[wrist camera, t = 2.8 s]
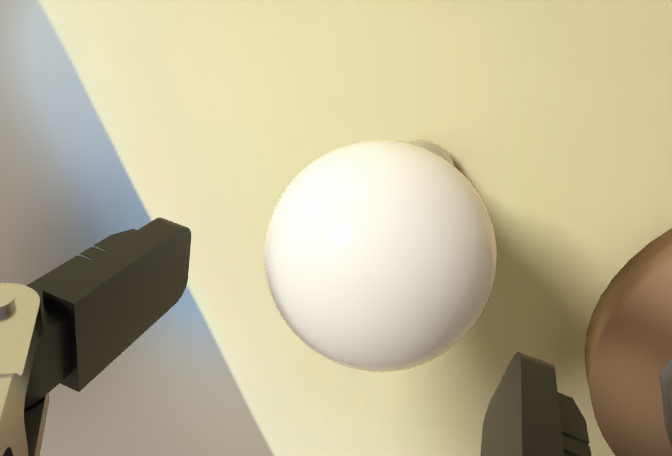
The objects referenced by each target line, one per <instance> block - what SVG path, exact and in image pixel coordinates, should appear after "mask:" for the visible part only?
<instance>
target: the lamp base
mask: <svg viewBox="0 0 672 456" xmlns="http://www.w3.org/2000/svg"><path fill="white" fill-rule="evenodd" d="M585 363H586V373H587V379H588V385H589V390H590V396H591V402H592V406H593V410H594V414H595V418H596V421H597V423H598V426H599V428H600V430H601V432H602V435H603V437H604V439H605V440H606V442H607V443H608V445H609V446H610V448H611V449H612V451H613V453H614V454H615V455H616V456H672V229H670V230H668V231H667V232H665V233H664V234H662V235H661V236H659V237H658V238H656V239H655V240H653V241H652V242H650V243H649V244H648V245H647V246H646V247H645V248H643V249H642V250H641V251H640V252H639V253H637V254H636V255H635V256H634V257H633V258H631V259H630V260H629V262H628V263H627V264H626V265H625V266H624V267H623V268H622V269H621V270H620V271H619V272H618V273H617V275H616V276H615V277H614V278H613V279H612V281H611V282H610V284H609V285H608V287H607V288H606V290H605V291H604V293H603V294H602V295H601V297H600V299H599V302H598V304H597V306H596V308H595V310H594V312H593V314H592V317H591V320H590V324H589V327H588V331H587V336H586V345H585Z"/></svg>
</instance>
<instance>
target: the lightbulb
mask: <svg viewBox="0 0 672 456" xmlns="http://www.w3.org/2000/svg"><path fill="white" fill-rule="evenodd" d="M496 261H497V250H496V240H495V234H494V229H493V225H492V222H491V219H490V216H489V214H488V211H487V209H486V207H485V205H484V203H483V201H482V199H481V197H480V196H479V194H478V192H477V191H476V189H475V188H474V187H473V185H472V184H471V183H470V182H469V180H468V179H467V178H466V177H465V176H464V175H463V174H462V173H461V172H460V171H459V170H458V169H457V168H455V167H454V163H453V161H452V159H451V157H450V155H449V154H448V153H447V152H446V151H445V150H444V149H443V148H442V147H441V146H439V145H437V144H435V143H433V142H430V141H424V140H418V141H412V142H409V143H405V142H400V141H393V140H367V141H360V142H355V143H351V144H347V145H344V146H341V147H338V148H336V149H334V150H331V151H329V152H327V153H325V154H323V155H322V156H320V157H318V158H317V159H315V160H314V161H312V162H311V163H310V164H308V165H307V166H306V167H305V168H303V169H302V170H301V171H300V172H299V173H298V174H297V175H296V176H295V177H294V178H293V180H292V181H291V182H290V183H289V184H288V186H287V187H286V189H285V190H284V191H283V193H282V195H281V196H280V198H279V200H278V202H277V204H276V206H275V208H274V210H273V212H272V215H271V218H270V221H269V224H268V228H267V232H266V238H265V247H264V265H265V274H266V279H267V283H268V287H269V290H270V293H271V296H272V299H273V301H274V303H275V306H276V308H277V310H278V311H279V313H280V315H281V317H282V318H283V320H284V321H285V323H286V324H287V325H288V327H289V328H290V329H291V330H292V331H293V333H294V334H295V335H296V336H297V337H298V338H299V339H300V340H301V341H302V342H303V343H305V344H306V345H307V346H308V347H309V348H311V349H312V350H313V351H315V352H316V353H318V354H320V355H321V356H323V357H325V358H327V359H329V360H331V361H333V362H335V363H337V364H340V365H343V366H346V367H349V368H353V369H357V370H363V371H371V372H391V371H399V370H405V369H409V368H413V367H416V366H419V365H422V364H424V363H427V362H429V361H431V360H433V359H435V358H437V357H439V356H441V355H442V354H444V353H445V352H447V351H448V350H450V349H451V348H452V347H453V346H455V345H456V344H457V343H458V342H459V341H460V340H461V339H462V338H463V337H464V336H465V335H466V334H467V333H468V332H469V331H470V329H471V328H472V327H473V326H474V324H475V323H476V321H477V320H478V318H479V317H480V315H481V313H482V312H483V310H484V308H485V306H486V304H487V301H488V299H489V296H490V293H491V290H492V287H493V283H494V278H495V272H496Z"/></svg>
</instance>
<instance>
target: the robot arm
mask: <svg viewBox="0 0 672 456" xmlns="http://www.w3.org/2000/svg"><path fill="white" fill-rule="evenodd" d="M190 245H191V232H190V229H189V228H187V227H185V226H182V225H179V224H177V223H174V222H171V221H169V220H166V219H163V218H157V219H155V220H153V221H152V222H150V223H148V224H147V225H145V226H144V227H142V228H140V229H139V230H135V229H131V230H128V231H124V232H120V233H117V234H113V235H110V236H109V237H107V238H105V239H104V240H102V241H101V242H99V243H97V244H95V245H94V247H93V248H92V247H90V248H89V249H87V250H85V251H84V252H82V253H81V254H80V256H75V257H74V258H72V259H71V260H69V261H67V262H65V263H64V264H62V265H60V266H59V267H57V268H55V269H54V270H52V271H50V272H49V273H47V274H45V275H44V276H42V277H40V278H39V279H37V280H35V281H34V282H32V283H30V284H29V285H27V286H24V285H21V284H15V283H0V456H40V451H41V445H42V439H43V434H44V428H45V423H46V417H47V411H48V405H49V392H50V391H51V390H52V389H53V388H54V387H56V386H57V385H58V384H59V383H61V384H63V385H65V386H67V387H69V388H71V389H74V390H76V391H78V392H79V391H81V390H82V389H83V388H84V387H85V386H86V385H87V384H88V383H89V382H90V381H91V380H93V379H94V378H95V377H96V376H97V375H98V374H99V373H100V372H101V371H102V370H104V369H105V368H106V367H107V366H108V365H109V364H110V363H111V362H112V361H113V360H114V359H115V358H117V357H118V356H119V355H120V354H121V353H122V352H123V351H124V350H125V349H126V348H128V347H129V346H130V345H131V344H132V343H133V342H134V341H135V340H136V339H137V338H139V336H141V335H142V334H143V333H144V332H145V331H146V330H147V329H148V328H149V327H151V325H153V324H154V323H155V322H156V321H157V320H158V319H159V318H160V317H161V316H163V315H164V314H165V313H166V312H167V311H168V310H169V309H170V308H171V307H172V306H174V305H175V304H176V303H177V302H178V300H179V299H180V298H181V296H182V294H183V292H184V290H185V288H186V285H187V280H188V269H189V257H190ZM588 444H589V438H588V432H587V426H586V420H585V419H584V417H583V415H582V414H581V412H580V410H579V408H578V407H577V405H576V403H575V402H574V400H573V398H571V397H568V396H566V395H563V394H561V393H558V392H557V385H556V375H555V368H554V366H553V365H551V364H549V363H546V362H543V361H541V360H538V359H535V358H533V357H530V356H527V355H525V354H522V353H519V352H518V353H516V354H515V355H514V357H513V359H512V360H511V362H510V364H509V366H508V368H507V370H506V372H505V374H504V376H503V378H502V380H501V382H500V384H499V386H498V388H497V389H496V391H495V393H494V395H493V397H492V399H491V401H490V404H489V406H488V409H487V412H486V415H485V419H484V424H483V432H482V445H481V456H591V450H590V447H589V446H588Z"/></svg>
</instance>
